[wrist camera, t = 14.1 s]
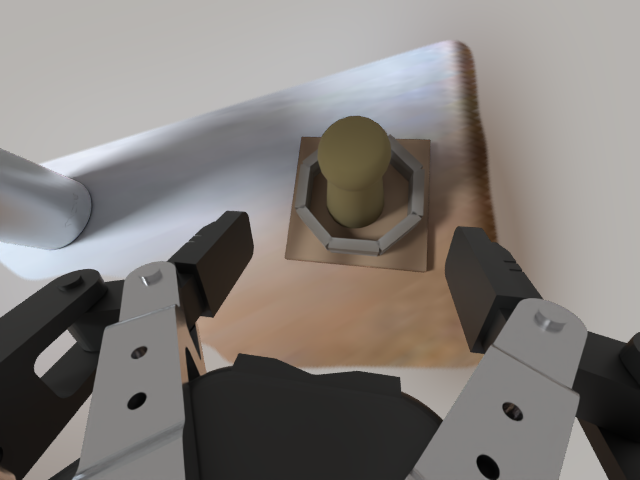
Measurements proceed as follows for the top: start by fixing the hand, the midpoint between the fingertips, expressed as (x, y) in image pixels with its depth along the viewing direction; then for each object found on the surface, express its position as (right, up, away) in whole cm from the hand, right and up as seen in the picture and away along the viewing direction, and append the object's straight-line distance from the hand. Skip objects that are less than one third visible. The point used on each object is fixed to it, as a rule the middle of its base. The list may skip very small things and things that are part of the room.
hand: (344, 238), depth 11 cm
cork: (+3, +4, +18) cm, 19 cm away
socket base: (+3, +4, +19) cm, 19 cm away
